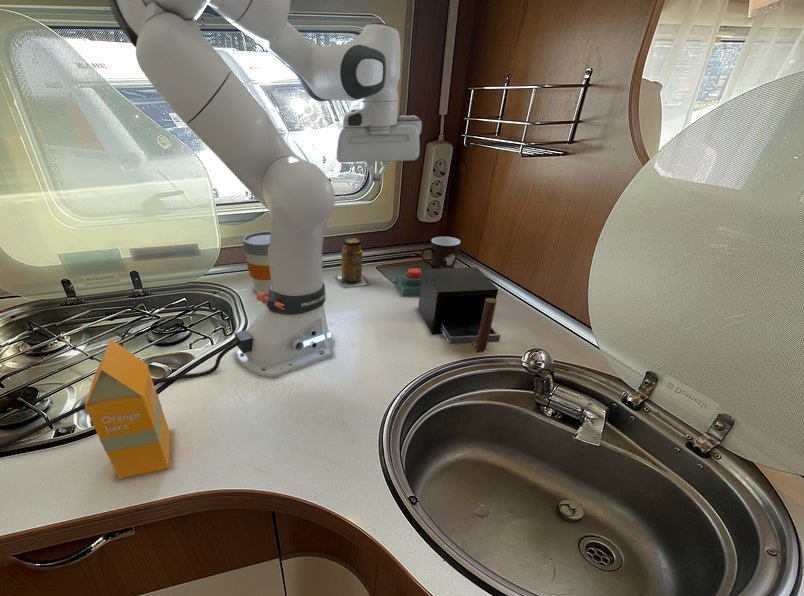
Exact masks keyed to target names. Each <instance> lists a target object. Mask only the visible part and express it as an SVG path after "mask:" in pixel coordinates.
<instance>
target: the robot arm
mask: <svg viewBox="0 0 804 596" xmlns="http://www.w3.org/2000/svg"><path fill="white" fill-rule="evenodd" d="M108 4H109V8H110V11H111V13H112V15H113V17H114V19H115V22H116V23H117V24H118V26H119V28H120V30H121V31H122V32H123V34H124V35H125V36H126V37H127V38H128V39H129V42H130V43H131V44H132V45H133V46H134V47H135V57H136V61H137V64H138V66H139V68H140V70H141V72H143V74H144V75H145V77H146V78H147V80H148V81H149V83H150V84H151V86H153V88H154V89H155V91H156V92H157V93H158V95H159V96H160V97H161V98H162V99H163V101H164V102H165V103H166V104H167V105H168V107H169V108H170V109H171V110H172V111H173V112H174V114H176V115H177V117H178V118H179V119H180V120H181V121H182V122H183V123H184V124H185V125H186V126H187V127H188V128H189V129H190V130H191V132H193V134H195V136H196V137H197V138H199V139H200V141H201V142H202V143H203V144H204V145H205V146H206V147H207V148H208V149H209V150H210V151H211V152H212V153H213V154H214V155H215V156H216V157H217V158H218V159H219V160H220V161H221V162H222V163H223V164H224V165H225V166H226V167H227V169H228V170H230V171H231V173H232V174H233V175H234V176H235V177H236V178H237V179H238V180H239V182H241V184H242V185H243V186H244V187H245V188H246V189H247V190H248V191H249V192H250V193H251V194H252V195H253V196H254V197H255V198H256V199H257V200H258V202H260V203H261V205H263V207H265V208H266V209H267V210H268V212H269V216H270V217H269V218H270V232H271V237H270V246H269V248H268V259H269V268H270V277H271V286H270V290H269V294H268V295H267V294H264V293H263V292H258V293H257V292H256V295H255V299H256V301H258V302H261V303H262V304H266V306H265V307H264V308H263V309H262V311H261V312H260V313H259V314H258V315H257V317H256V318H255V319H254V320H253V322H252V323H250V325H249V326H248V327H247V329H246V330H245V329H244V330H241V331H237V332H235V333H234V339H235V342H233V343H232V344H229V346H227V347H225V348H224V349H223V350H221V352H219V354H218V356H217V357H216V360H215V363H214V365H213V366H212V367H211V368H209V369H207V370H206V371H203V372H198V373H197V372H196V373H185V374H178V375H173V376H168V377H164V378H158V379H154V380H153V379H152V381H153V384H154V385H158V384H163V383H164V384H165V383H168V382H174V381H178V380H182V379H184V380H185V379H193V378H199V377H205V376H208V375H211V374H212V373H214V372H215V371H217V369H218V368H219V366H220V363H221V360H222V358H223V357H224V356H225V355H226V354H227V353H228V352H230V351H232V350H233V349H235V348H236V347H237V348H238V349H236V359H237V361H238V362H239V364H241V366H243V367H244V368H245V369H247V370H249V371H251V372H252V373H254V374H257V375H258V376H262V377H266V378H276V377H279V376H282V375H285V374H287V373H291V372H293V371H296V370H299V369H302V368H304V367H307V366H309V365H310V366H311V365H312V364H315V363H318V362H320V361H323V360H325V359H329V358H331V356H332V350H331V346H332V344H333V339H332V332H330V330H329V327H328V322H327V316H326V310H325V302H326V286H325V285H326V284H325V283H324V282H323V281H324V280H323V279H324V278H323V275H324V274H323V244H324V238H325V232H326V227H327V221H328V220H329V218H330V217H331V215H332V213H333V211H334V208H335V204H336V203H335V202H336V194H335V189H334V187H333V184H332V182H331V181H330V180H329V178H328V176H327V175H326V173H324V171H323V170H322V169H321V168H320V167H319V166H318V165H316V164H315V163H314V162H313V163H312V162H311V161H308V160H306V159H303V158H301V157H300V156H299V155H297V154H296V153H295V152H294V151H293V149H291V148H290V146H289V145H288V143H287V142H286V140H285V139H284V138H283V137H282V135H281V133H280V132H279V131H278V130H279V129H277V127H276V126H275V125H274V122H273V121H272V119H271V118H270V116H269V115H270V114H269V113H268V112H267V110H266V109H265V108H264V107H263V105H262V104H261V103H260V102H259V101H258V99H257V98H256V97H255V96H254V94H253V93H252V92H251V91H250V90H249V88H248V87H247V86H246V84H245V83H244V82H243V81H242V80H241V78H240V77H239V76H238V74H237V73H236V72H235V71H234V70H233V69H232V67H231V66H230V64H229V63H228V62H227V61H226V60H225V59H224V58H223V56H222V55H221V54H220V53H219V52H218V51H217V50H216V48H214V46H212V44H210V43H209V42H208V41H207V40H206V38H205V36H204V34H203V32H202V30H201V27H200V25H199V22H198V19H199V17H200V16H201V15H202V13H203V12H204V11H205V9H206V7H207V6H209V7H210V8H212V10H213V11H215V12H216V13H217V14H218V15H220V16H221V17H223V19H225V20H226V21H228V22H229V24H232V25H233V26H234V27H235V28H237V29H238V30H240V31H241V32H243V33H244V34H246V35H247V36H249V37H250V38H252V39H253V40H254V41H255V42H257V43H258V44H259V45H260V46H261V47H263V48H264V49H265V50H266V51H267V52H268V53H269V54H271V55H272V56H273V57H274V58H275V59H276V60H278V61H279V62H280V63H281V64H282V65H284V67H286V68H287V69H288V70H289V71H290V72H291V73H293V74H294V75H295V76H296V78H297V79H298V80H299V82H300V84H301V85H302V87H303V89H304V90H305V92H306V93H307V94H308V96H309V97H311V98H312V99H313V100H314V101H317V102H330V101H342V102H343V101H345V102H346V101H359V107H357V108H355V109H351V110H350V111H348V112H345V113H342V114H341V115H340V119H339V120H340V121H339V122H340V125H341V127H339V129H338V131H337V133H336V139H335V153H334V154H335V155H334V157H335V159H336V161H337V162H338V163H340V164H341V163H365V167H366V169H367V171H368V172H369V182H370V183H376V182H383V180H384V179H383V177H384V173H385V171H386V170H387V168H388V165H389V162H400V161H401V162H403V161H404V162H405V161H416V160H417V159H418V158H419V156H420V135H421V134H422V129H423V128H422V127H423V123H422V119H420V118H419V117H418V116H417V115H415V114H412V115H399V99H400V98H399V93H398V88H399V87H398V86H399V81H400V79H401V66H402V65H401V63H402V50H401V49H402V47H401V38H400V37H401V36H400V33H399V31H398V29H396V27H394V26H392V25H390V24H387V23H380V22H371V23H368V24H366V25H365V26H364V27H363V29H362V31H361V32H360V33H359V34H358V35H356V37H354V38H353V39H351V40H350V41H348V42H347V43H343V44H335V45H334V44H333V45H317V44H314V43H312V42H310V41H309V40H307V38H306V37H305V36H304V35H303V34H301V32H299V31H298V30H297V29H296V28H295V27H294V26H293V25H292V24H291V23H290V22H289V21H288V18H289V14H290V9H291V0H108ZM374 162H375V163H376V162H380V166H381V168H380V169H379V171H378V172H374V171H373V169H372V168H371V167H373V165H374ZM85 405H86V402H84V404H81V405H79V406H77V407H75V408H72V409H70V410H68V411H66V412H64V413H62V414H59V415H57V416H55V417H54V418H52V419H49V420H47V421H45V422H43V423H41V424H39V425H36V426H35V427H33V428H31V429H29V430H26V431H25V432H22V433H20V434H19V435H16V436H14V437H12V438H10V439H7V440H5V441H3V442H0V450H2V449H4V448H5V447H8V446H10V445H12V444H14V443H17V442H19V441H21V440H23V439H25V438H27V437H29V436H32V435H34V434H35V433H38V432H39V431H41V430H43V429H45V428H48V427H49V426H52V425H55V424H57V423H58V422H60V421H62V420H64V419H67V418H68V417H71V416H73V415H74V414H76V413H79V412H81V411H83V410H86V408H85Z"/></svg>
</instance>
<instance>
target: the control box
mask: <svg viewBox="0 0 804 596" xmlns="http://www.w3.org/2000/svg"><path fill="white" fill-rule="evenodd" d="M395 277H396V278H395V284H396V285H397V287H398V289H399V292H400V294H401V296H402V297H418V296H420V287H421V278H422V272H421V276H420V278H416V279H413V278H409V277H408V271H407V272H404V273H403V274H402V275H396V276H395Z"/></svg>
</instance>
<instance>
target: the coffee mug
mask: <svg viewBox="0 0 804 596" xmlns="http://www.w3.org/2000/svg"><path fill="white" fill-rule="evenodd" d="M460 246H461V240H460V239H459V238H457V237H451V236H436V237H433V238H431V240H430V246H429V247H428V246H427V247H425V248H423V249H422V250H421V253H420V258H421V259H422V261H423V262H424V263H426V264H427V265H429V266H430V269H444V268H455V264H456V261H457V256H458V253H459V249H460ZM426 251H430V261H427V260H426V259H425V258H424V253H425V252H426Z"/></svg>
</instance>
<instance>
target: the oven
mask: <svg viewBox="0 0 804 596" xmlns="http://www.w3.org/2000/svg"><path fill="white" fill-rule="evenodd" d="M421 273H422V278H421V287H420V296H419V298H418V306H417V309H418V312H419V315H420V316H421V317H422V319H423V321H424V323H425V325H426V327H427V328H428V331H429V332H430V334H431V335H432V336H440V335H441V336H442V335H443V334H442V332H441V330H440V329H439V327H438V322H439V316H440V318H441V319H452V318H472V317H478V316H479V313H483V308H484V304H485V299H487V298H493V299H496V300H497V296H498V293H499V288H498V287H497V286H496V285H495V284H494V283H493V282H492V281H491V280H490V279H489V278H488V277H487V276H486V275H485V274H484V273H483V272H482V271H481V270H480V269H479V268H478V267H477V266H469V267H468V266H466V267H454V268H444V269H431V268H424V269H422V270H421Z"/></svg>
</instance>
